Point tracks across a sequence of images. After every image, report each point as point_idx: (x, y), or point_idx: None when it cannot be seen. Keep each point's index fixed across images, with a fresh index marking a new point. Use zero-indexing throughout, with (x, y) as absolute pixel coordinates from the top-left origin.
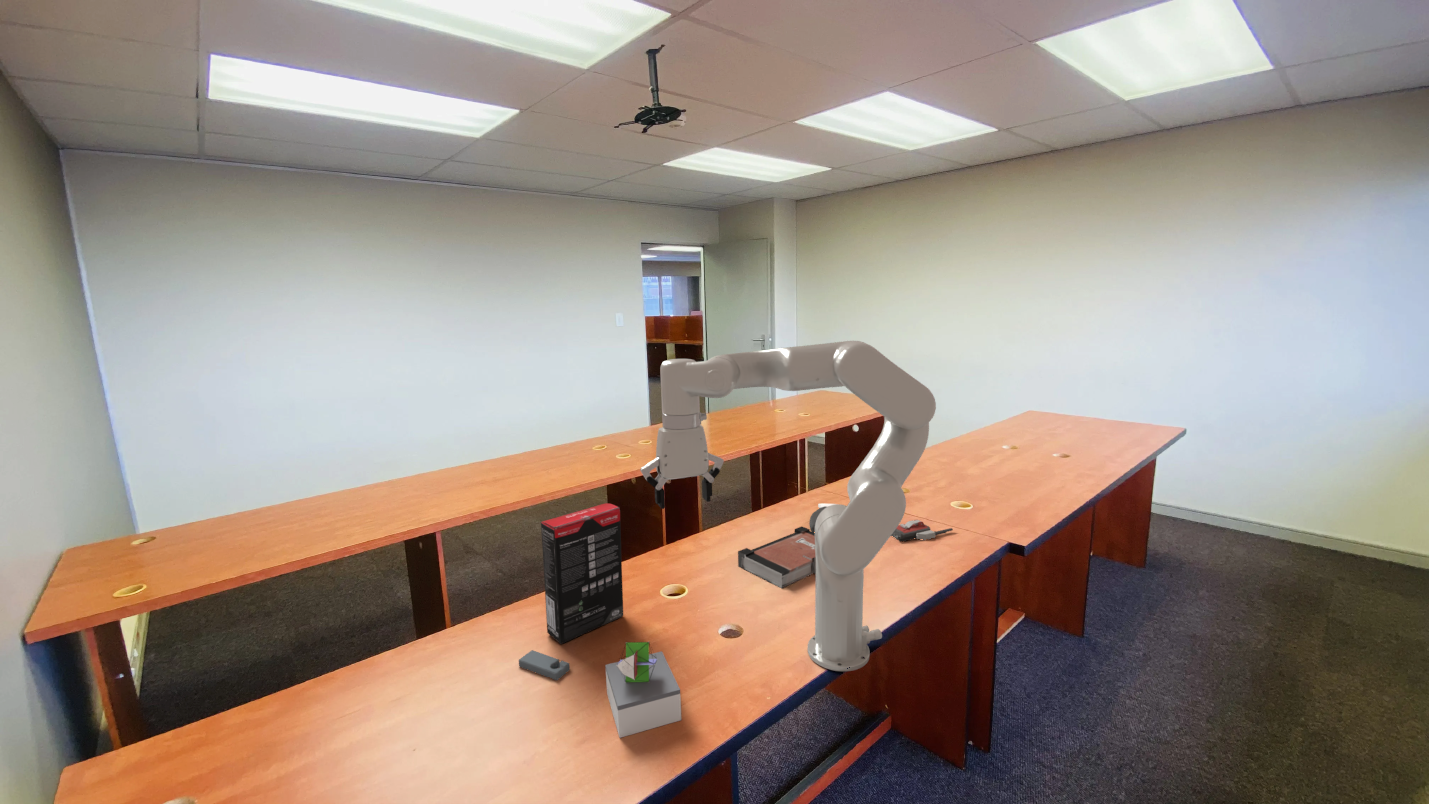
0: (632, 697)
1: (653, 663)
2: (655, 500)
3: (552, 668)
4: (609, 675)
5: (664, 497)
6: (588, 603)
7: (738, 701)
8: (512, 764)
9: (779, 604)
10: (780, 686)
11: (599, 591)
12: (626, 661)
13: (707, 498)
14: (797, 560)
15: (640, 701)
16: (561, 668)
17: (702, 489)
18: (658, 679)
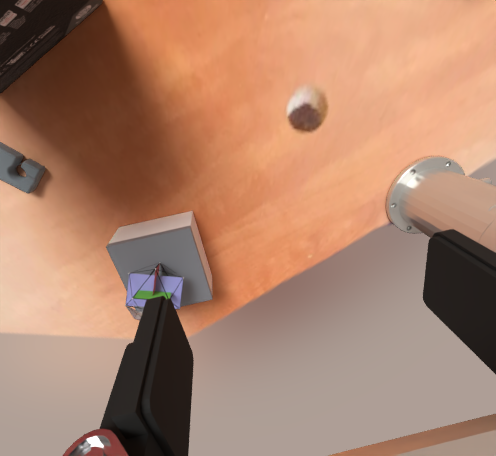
0: None
1: (178, 302)
2: (129, 352)
3: (14, 168)
4: (117, 268)
5: (188, 417)
6: (6, 51)
7: (277, 257)
8: (40, 310)
9: (419, 36)
10: (329, 241)
11: (17, 28)
12: (139, 319)
13: (438, 312)
14: None
15: None
16: (31, 179)
17: (471, 271)
18: (185, 281)
